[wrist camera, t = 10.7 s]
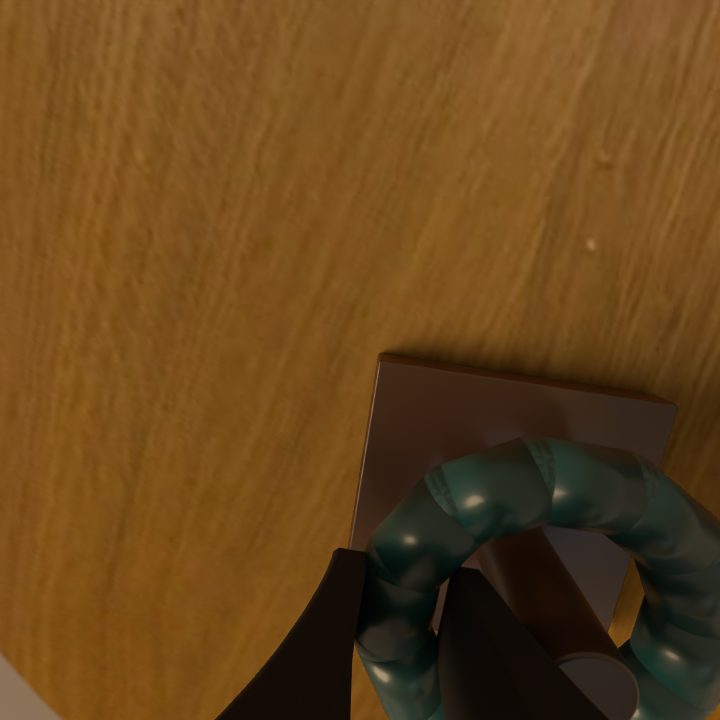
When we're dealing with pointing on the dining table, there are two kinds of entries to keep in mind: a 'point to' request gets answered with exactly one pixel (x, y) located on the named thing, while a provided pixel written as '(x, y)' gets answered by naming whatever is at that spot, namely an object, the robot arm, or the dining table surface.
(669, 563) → the ring
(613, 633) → the dining table surface
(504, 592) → the post
